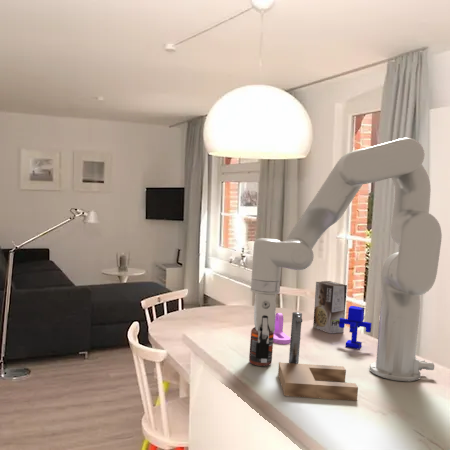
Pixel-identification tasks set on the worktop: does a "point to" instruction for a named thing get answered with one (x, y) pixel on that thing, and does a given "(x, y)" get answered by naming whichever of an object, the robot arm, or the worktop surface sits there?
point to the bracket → (280, 331)
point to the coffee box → (329, 306)
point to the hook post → (295, 337)
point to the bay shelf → (307, 386)
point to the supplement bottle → (252, 354)
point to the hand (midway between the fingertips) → (260, 353)
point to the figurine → (355, 325)
